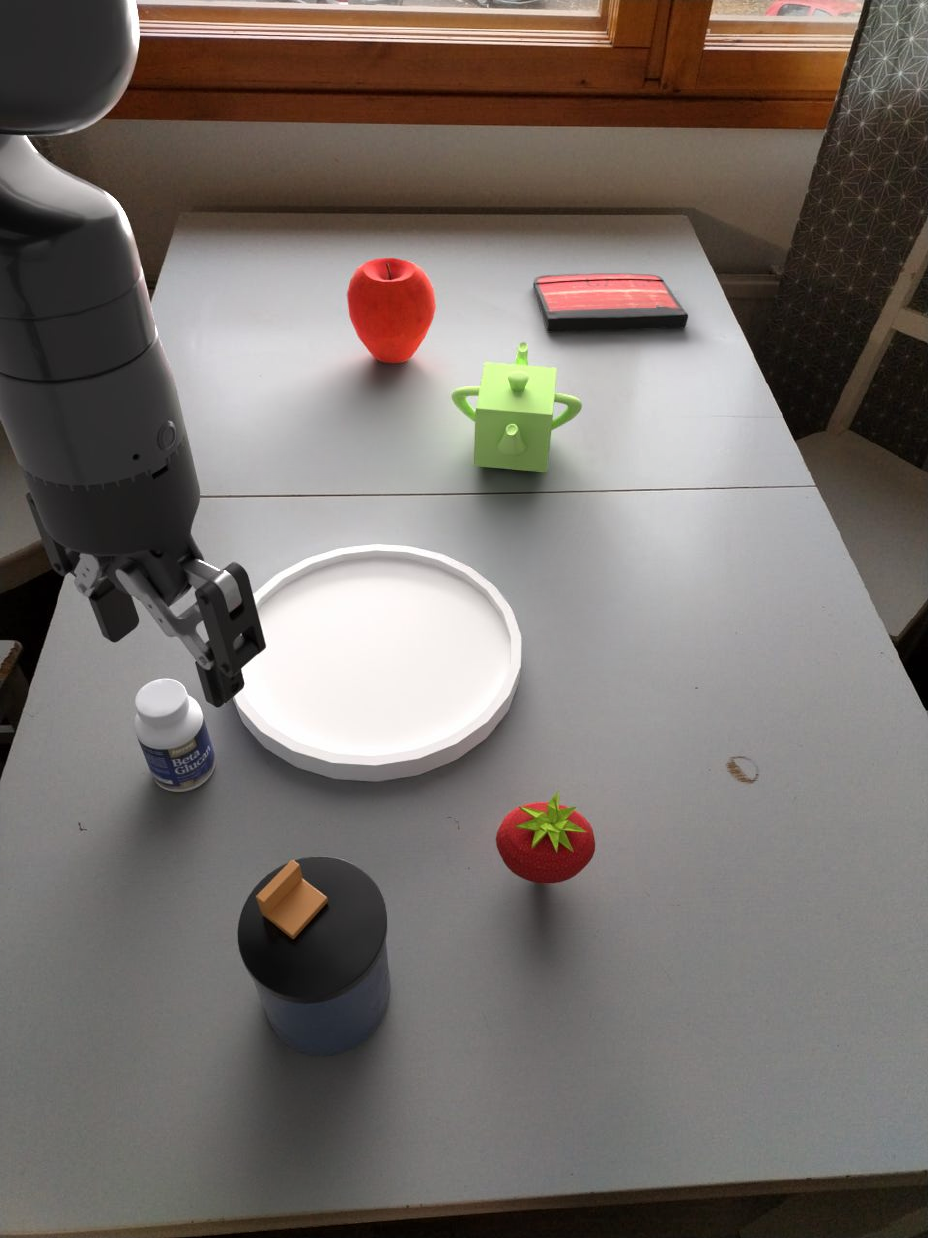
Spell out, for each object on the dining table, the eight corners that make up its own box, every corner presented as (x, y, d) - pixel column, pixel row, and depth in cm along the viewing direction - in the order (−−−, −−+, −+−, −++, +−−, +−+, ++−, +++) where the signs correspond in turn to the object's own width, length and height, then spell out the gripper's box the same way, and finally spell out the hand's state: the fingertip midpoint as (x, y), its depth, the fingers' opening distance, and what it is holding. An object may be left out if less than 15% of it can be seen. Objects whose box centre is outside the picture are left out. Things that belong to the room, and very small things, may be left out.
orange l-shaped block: (261, 914, 57) (255, 896, 55) (296, 877, 58) (292, 859, 57) (293, 940, 56) (288, 923, 54) (328, 901, 57) (325, 884, 56)
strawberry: (492, 840, 73) (499, 771, 66) (584, 844, 73) (601, 775, 66) (491, 908, 69) (498, 842, 62) (589, 912, 69) (606, 847, 62)
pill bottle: (187, 804, 75) (161, 735, 68) (139, 777, 77) (109, 706, 69) (229, 758, 78) (209, 688, 71) (183, 733, 80) (158, 661, 73)
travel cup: (234, 1002, 64) (205, 936, 56) (324, 904, 69) (309, 830, 61) (331, 1089, 60) (315, 1030, 52) (419, 977, 65) (416, 909, 57)
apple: (431, 332, 130) (430, 241, 120) (440, 375, 122) (440, 281, 112) (349, 336, 129) (342, 244, 119) (353, 380, 121) (346, 285, 111)
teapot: (518, 406, 117) (524, 331, 110) (593, 452, 111) (606, 376, 103) (430, 450, 110) (430, 374, 102) (506, 503, 103) (512, 425, 96)
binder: (689, 313, 131) (548, 318, 129) (686, 328, 132) (546, 333, 131) (660, 269, 142) (530, 272, 140) (658, 283, 144) (529, 287, 142)
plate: (168, 667, 85) (162, 650, 83) (375, 526, 100) (374, 509, 98) (377, 842, 73) (375, 826, 71) (578, 651, 88) (581, 634, 86)
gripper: (-69, 415, 41) (41, 650, 53) (144, 532, 36) (214, 764, 48) (64, 349, 46) (138, 579, 57) (272, 444, 40) (307, 677, 52)
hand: (173, 663), depth 52 cm, fingers open, 8 cm apart
